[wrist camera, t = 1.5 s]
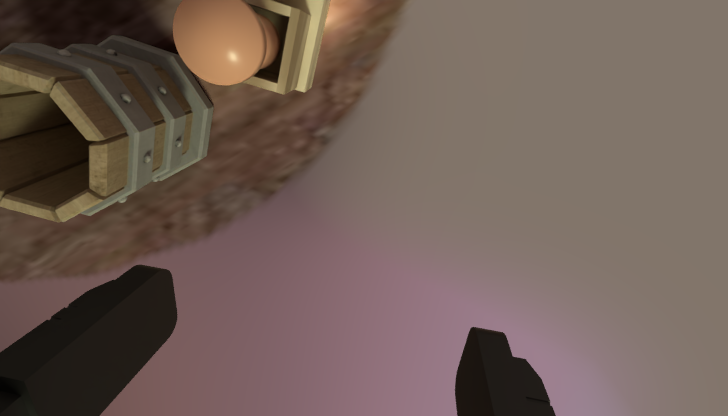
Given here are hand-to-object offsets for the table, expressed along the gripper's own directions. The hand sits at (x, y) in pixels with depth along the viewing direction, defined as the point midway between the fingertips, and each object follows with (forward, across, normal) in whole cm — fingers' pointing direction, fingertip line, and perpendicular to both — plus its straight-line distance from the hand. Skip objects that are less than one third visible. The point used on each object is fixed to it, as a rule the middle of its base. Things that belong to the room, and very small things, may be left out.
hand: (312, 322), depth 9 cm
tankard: (+25, +27, +3) cm, 37 cm away
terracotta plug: (+19, +10, -6) cm, 22 cm away
